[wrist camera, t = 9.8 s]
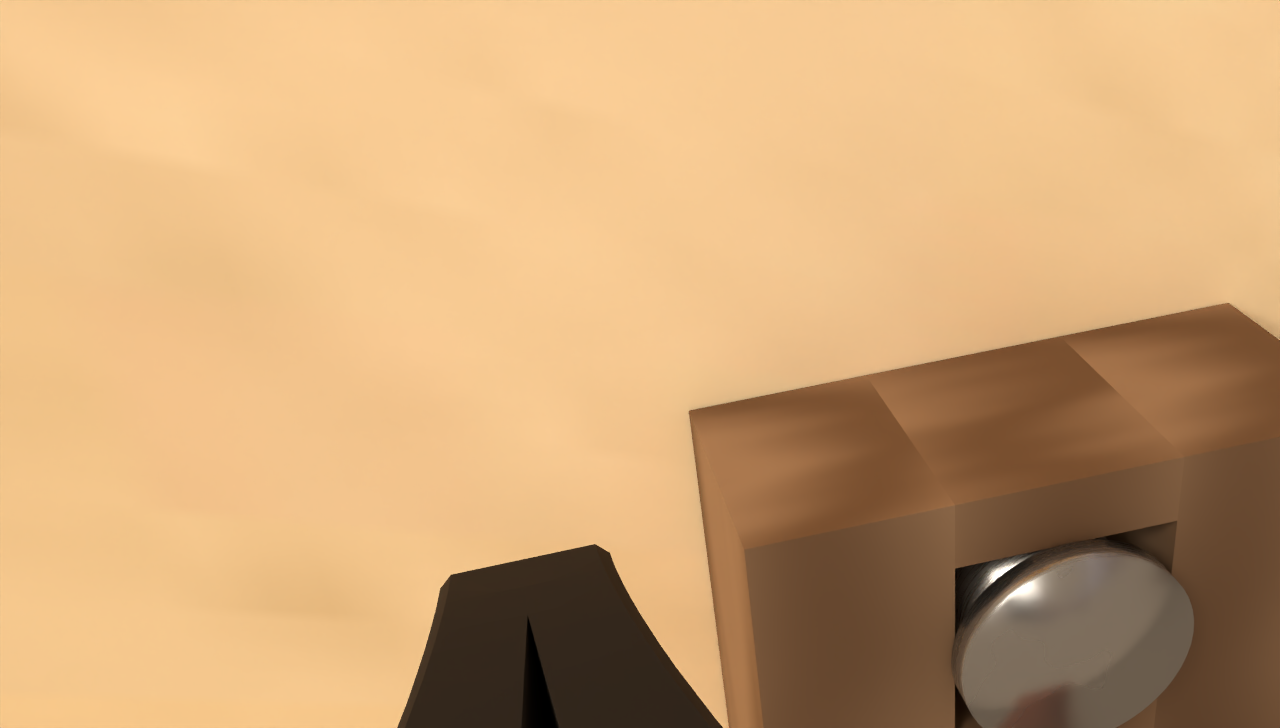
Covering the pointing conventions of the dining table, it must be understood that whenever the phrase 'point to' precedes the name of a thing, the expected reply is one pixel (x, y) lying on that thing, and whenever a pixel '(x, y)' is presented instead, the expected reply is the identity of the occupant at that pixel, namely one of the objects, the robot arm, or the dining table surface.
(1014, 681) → the grey plug
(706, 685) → the dining table surface
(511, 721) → the robot arm
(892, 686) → the socket block
